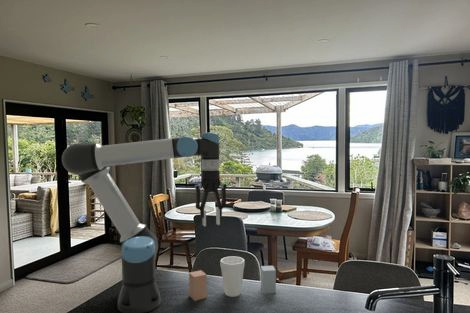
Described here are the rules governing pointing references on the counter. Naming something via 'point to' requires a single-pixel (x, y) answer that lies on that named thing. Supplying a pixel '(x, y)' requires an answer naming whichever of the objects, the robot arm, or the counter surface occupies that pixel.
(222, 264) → the foam cup
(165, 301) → the counter surface
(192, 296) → the terracotta block
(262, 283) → the slate block
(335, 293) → the counter surface
